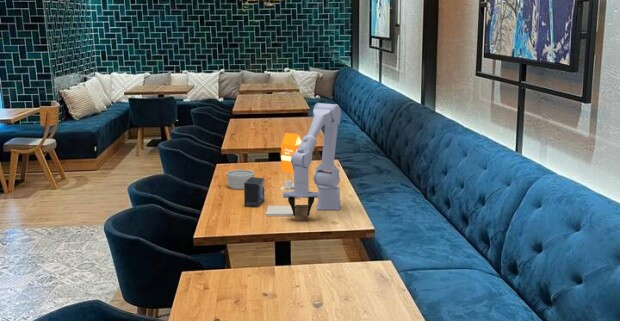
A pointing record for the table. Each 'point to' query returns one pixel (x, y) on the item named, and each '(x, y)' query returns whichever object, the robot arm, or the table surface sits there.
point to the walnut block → (301, 212)
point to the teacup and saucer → (288, 185)
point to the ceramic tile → (279, 211)
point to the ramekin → (238, 178)
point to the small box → (254, 192)
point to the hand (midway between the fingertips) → (301, 215)
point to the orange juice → (289, 150)
